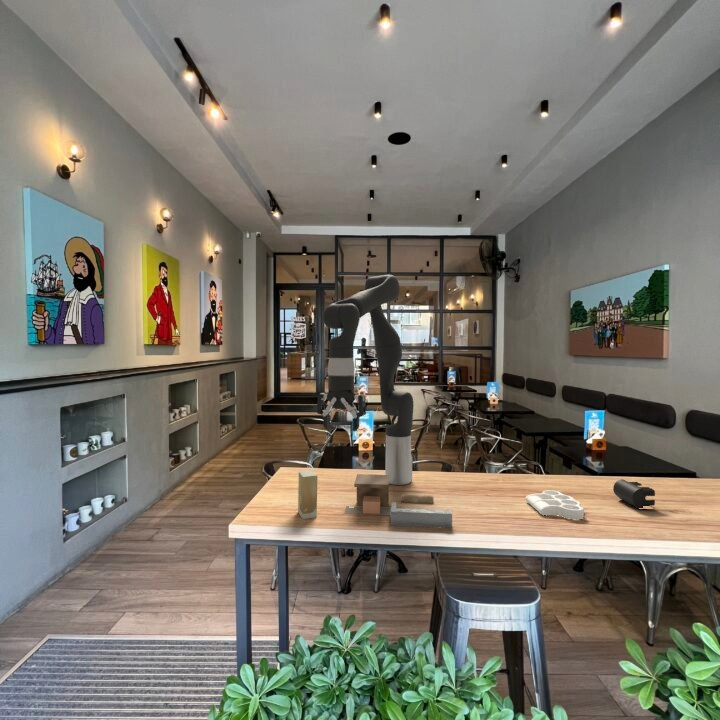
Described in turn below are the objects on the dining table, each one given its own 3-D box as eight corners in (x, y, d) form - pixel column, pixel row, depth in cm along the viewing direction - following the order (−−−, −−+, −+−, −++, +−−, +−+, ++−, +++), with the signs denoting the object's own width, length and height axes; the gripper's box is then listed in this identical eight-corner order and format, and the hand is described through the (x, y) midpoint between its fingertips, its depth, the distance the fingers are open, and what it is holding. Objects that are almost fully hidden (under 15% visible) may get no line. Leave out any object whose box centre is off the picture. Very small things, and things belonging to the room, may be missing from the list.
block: (362, 513, 125) (362, 501, 125) (363, 507, 130) (364, 495, 130) (379, 513, 125) (379, 502, 125) (380, 507, 130) (380, 496, 130)
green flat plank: (344, 513, 125) (344, 513, 125) (346, 506, 131) (346, 506, 131) (430, 516, 123) (430, 516, 123) (428, 509, 129) (428, 509, 129)
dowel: (401, 502, 135) (401, 494, 135) (401, 502, 137) (401, 494, 138) (433, 503, 134) (433, 495, 134) (432, 503, 136) (432, 495, 137)
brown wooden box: (354, 514, 125) (354, 483, 125) (356, 502, 135) (357, 474, 135) (388, 515, 124) (388, 484, 124) (388, 503, 134) (389, 475, 134)
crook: (390, 526, 116) (390, 511, 116) (390, 515, 124) (391, 502, 124) (452, 528, 115) (452, 513, 115) (448, 518, 122) (448, 504, 122)
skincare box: (297, 511, 126) (297, 470, 126) (311, 510, 128) (312, 469, 128) (302, 519, 120) (302, 476, 120) (317, 517, 122) (317, 475, 122)
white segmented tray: (521, 500, 139) (566, 500, 139) (545, 521, 121) (596, 522, 121) (521, 489, 139) (566, 490, 139) (545, 510, 121) (597, 510, 121)
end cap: (612, 499, 140) (612, 479, 140) (634, 499, 140) (634, 479, 140) (632, 510, 130) (633, 488, 130) (655, 510, 130) (656, 488, 130)
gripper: (368, 373, 124) (368, 429, 124) (324, 372, 129) (324, 426, 129) (359, 374, 117) (359, 434, 117) (313, 373, 122) (312, 430, 122)
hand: (341, 430), depth 123 cm, fingers open, 8 cm apart
